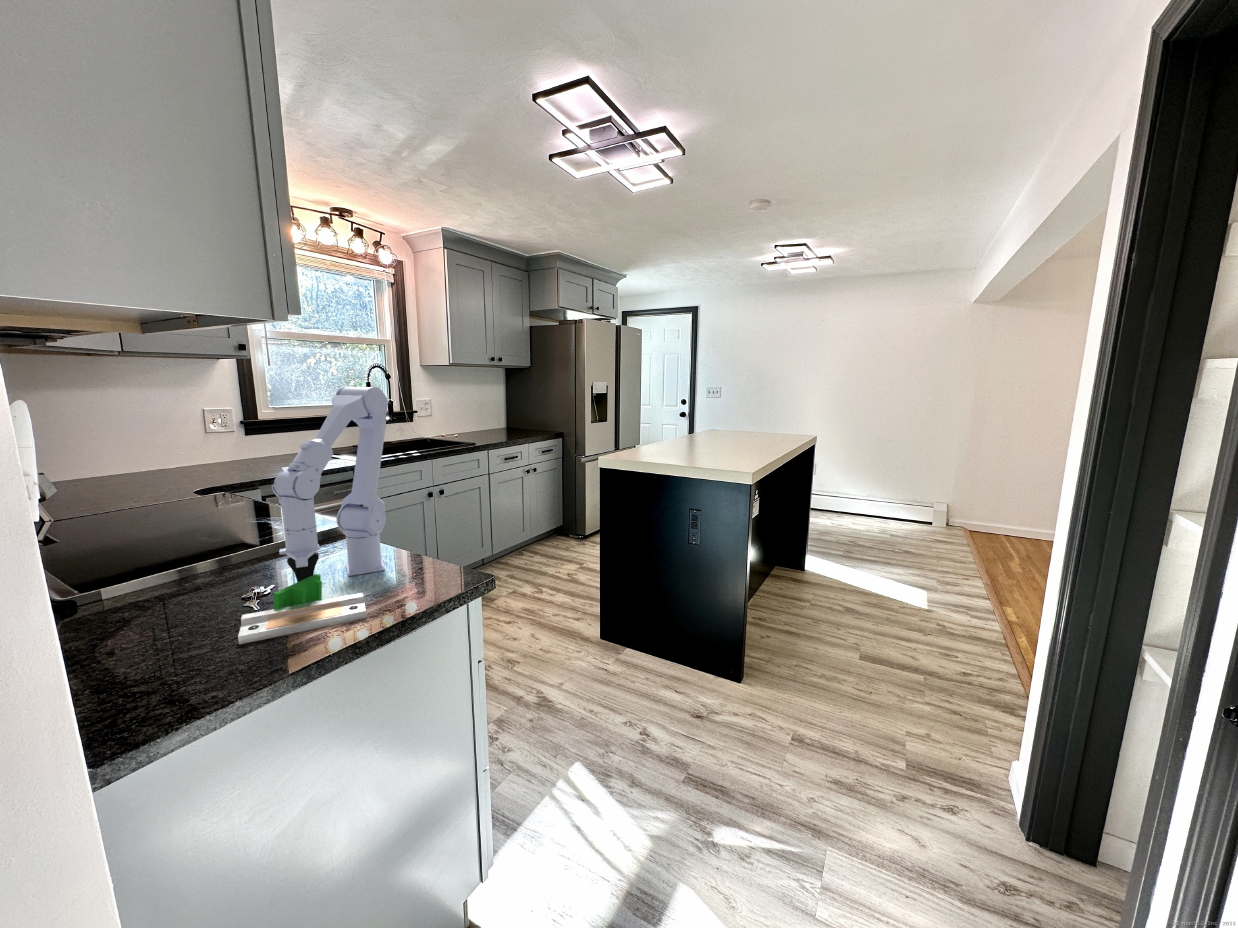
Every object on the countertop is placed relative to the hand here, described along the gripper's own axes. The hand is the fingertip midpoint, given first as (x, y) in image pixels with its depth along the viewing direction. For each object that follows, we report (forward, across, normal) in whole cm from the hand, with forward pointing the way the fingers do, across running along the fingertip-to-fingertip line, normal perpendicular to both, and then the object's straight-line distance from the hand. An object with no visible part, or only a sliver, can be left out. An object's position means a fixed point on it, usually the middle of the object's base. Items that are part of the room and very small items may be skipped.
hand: (306, 588), depth 107 cm
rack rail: (+2, +14, 0) cm, 14 cm away
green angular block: (+2, +6, 0) cm, 6 cm away
